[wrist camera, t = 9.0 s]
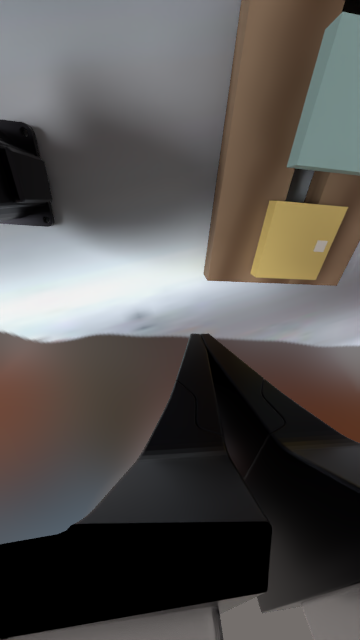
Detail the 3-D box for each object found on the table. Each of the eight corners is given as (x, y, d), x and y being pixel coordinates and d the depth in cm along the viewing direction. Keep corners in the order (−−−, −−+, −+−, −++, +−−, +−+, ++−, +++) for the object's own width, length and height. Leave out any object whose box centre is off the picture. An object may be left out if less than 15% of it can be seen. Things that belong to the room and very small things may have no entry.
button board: (203, 273, 21) (207, 280, 19) (278, -264, 9) (307, -377, 7) (323, 279, 23) (336, 285, 21) (530, -166, 10) (604, -239, 9)
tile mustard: (243, 267, 21) (256, 277, 18) (259, 200, 17) (277, 200, 15) (296, 270, 21) (316, 280, 19) (321, 205, 18) (349, 207, 16)
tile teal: (273, 170, 15) (297, 164, 13) (304, 50, 12) (344, 10, 10) (342, 178, 16) (378, 174, 13) (388, 66, 13) (446, 32, 10)
